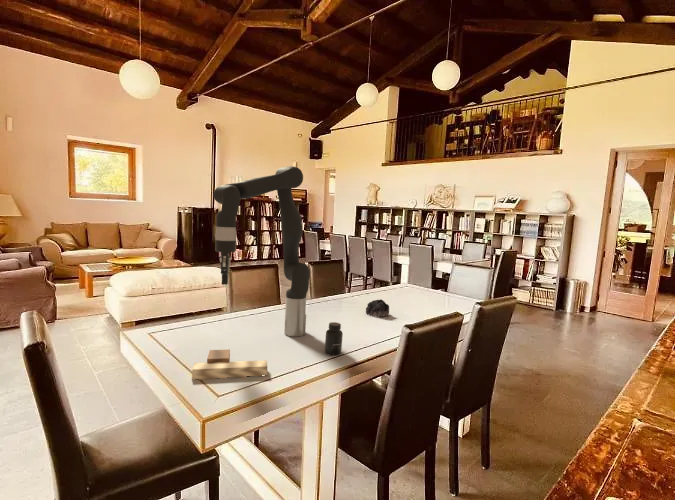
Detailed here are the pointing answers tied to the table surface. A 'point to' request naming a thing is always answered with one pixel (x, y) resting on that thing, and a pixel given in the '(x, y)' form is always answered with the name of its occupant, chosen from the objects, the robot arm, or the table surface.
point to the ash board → (229, 369)
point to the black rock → (377, 308)
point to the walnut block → (218, 356)
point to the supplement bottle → (333, 339)
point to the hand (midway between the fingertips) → (224, 284)
